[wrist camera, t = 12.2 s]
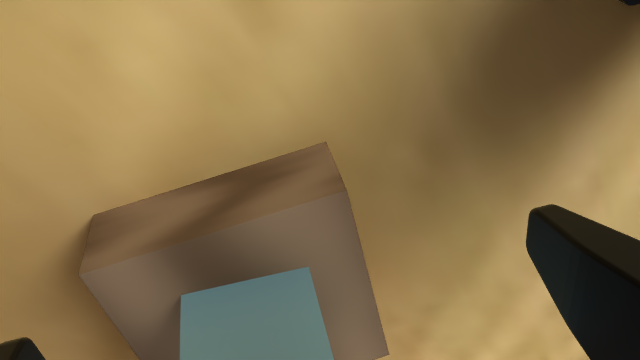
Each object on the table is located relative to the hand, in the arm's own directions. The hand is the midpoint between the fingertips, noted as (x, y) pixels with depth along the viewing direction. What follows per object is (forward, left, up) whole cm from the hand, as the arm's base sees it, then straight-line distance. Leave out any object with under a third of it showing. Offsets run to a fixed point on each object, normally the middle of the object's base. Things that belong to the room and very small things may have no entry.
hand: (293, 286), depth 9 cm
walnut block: (+2, +10, -12) cm, 16 cm away
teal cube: (+2, +10, -8) cm, 13 cm away
